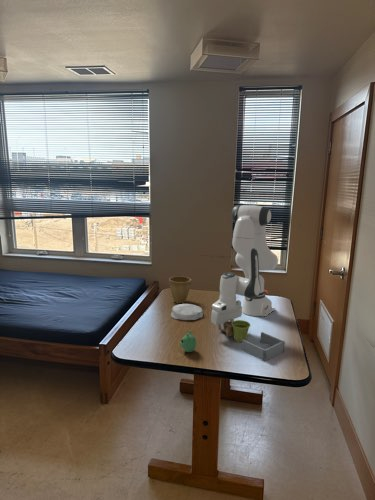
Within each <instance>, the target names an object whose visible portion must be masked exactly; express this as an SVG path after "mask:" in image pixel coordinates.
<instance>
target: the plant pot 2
mask: <svg viewBox="0 0 375 500" xmlns="http://www.w3.org/2000/svg"><path fill="white" fill-rule="evenodd" d="M232 326H233V332H234V335H233V339H234V341H235V342H237V343H242V340H246V341H247V337H248V332H249V329H250V327H251V323H250V322H248V321H245V320H237V319H236V320H234V321H233V322H232Z"/></svg>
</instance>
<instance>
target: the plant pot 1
mask: <svg viewBox="0 0 375 500" xmlns="http://www.w3.org/2000/svg"><path fill="white" fill-rule="evenodd" d="M168 280H169V281H168V282H169V287H170V288H169V289H170V293H171V297H172V300H173V301H174V302H173V303H175V302H176V303H175V304H178V303H182V304H185V303H186V301H187V299H188V295H189V293H190V289H191V283H192V279H191V278H190V277H187V276H172V277H171V276H170V277H169V279H168ZM184 302H185V303H184Z"/></svg>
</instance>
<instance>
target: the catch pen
mask: <svg viewBox="0 0 375 500" xmlns="http://www.w3.org/2000/svg"><path fill="white" fill-rule="evenodd" d="M259 340H260V343H263V344H264V345H267V346H269V347H267V348H262V346H261V347H260V346H259V345H256V344H254V343H253V342H250V341H249V340H247V339H246V340H242V342H241V343H242V345H241V350H242V351H243V352H245V353H248V354H250V355H251V356H254V357H255V358H257V359H259V360H261V361H264V362H265V361H267V360H269V359H271V358H274V357H276V356H277V355H280V354H281V353H283V352H285V343H286V341H285V340H282V339H280V338H277V337H275V336H272V335H270V334H267V333H266V332H263V331H261V332H260V339H259Z"/></svg>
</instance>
